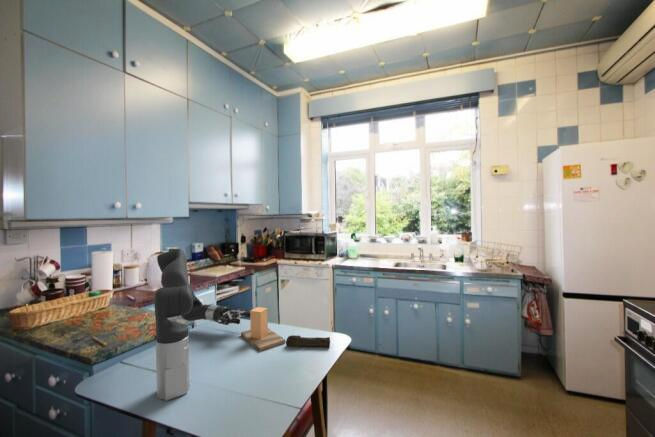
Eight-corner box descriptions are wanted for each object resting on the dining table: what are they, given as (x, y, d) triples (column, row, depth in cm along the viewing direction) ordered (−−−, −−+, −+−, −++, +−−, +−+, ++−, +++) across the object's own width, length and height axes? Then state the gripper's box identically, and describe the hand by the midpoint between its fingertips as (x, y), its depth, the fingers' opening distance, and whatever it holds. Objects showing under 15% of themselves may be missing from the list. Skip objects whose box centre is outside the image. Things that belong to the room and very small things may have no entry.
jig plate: (285, 342, 124) (285, 331, 124) (260, 351, 116) (259, 339, 116) (264, 328, 139) (264, 318, 139) (240, 335, 132) (240, 324, 132)
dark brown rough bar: (330, 344, 122) (330, 334, 122) (329, 349, 118) (329, 338, 118) (287, 343, 124) (287, 333, 124) (285, 347, 120) (285, 337, 120)
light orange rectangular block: (267, 334, 129) (267, 308, 129) (260, 339, 124) (260, 312, 124) (257, 332, 131) (257, 307, 131) (250, 337, 126) (250, 310, 126)
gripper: (206, 310, 130) (235, 315, 124) (228, 301, 143) (254, 305, 137) (206, 327, 130) (235, 332, 124) (228, 316, 143) (255, 320, 137)
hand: (245, 318), depth 130 cm, fingers open, 8 cm apart
